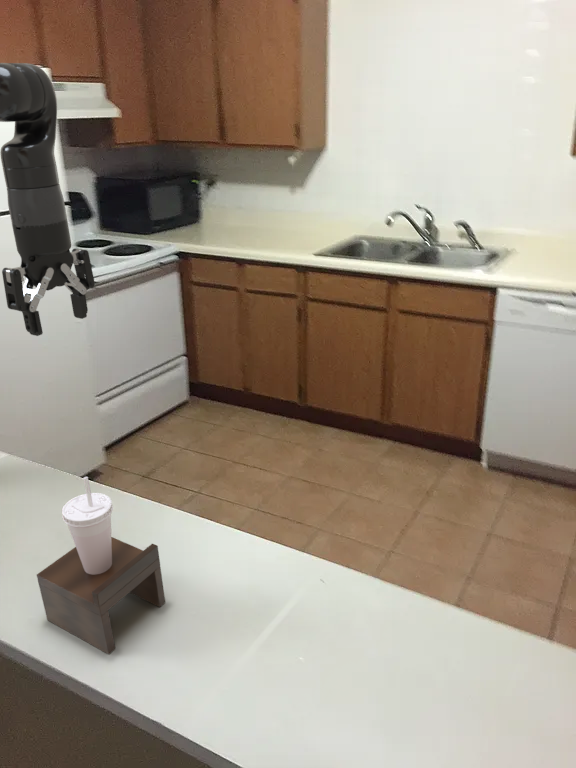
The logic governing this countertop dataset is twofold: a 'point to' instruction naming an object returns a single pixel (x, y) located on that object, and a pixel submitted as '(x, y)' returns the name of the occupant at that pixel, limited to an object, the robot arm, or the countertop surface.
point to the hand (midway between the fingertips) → (59, 325)
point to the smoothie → (91, 529)
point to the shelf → (99, 590)
